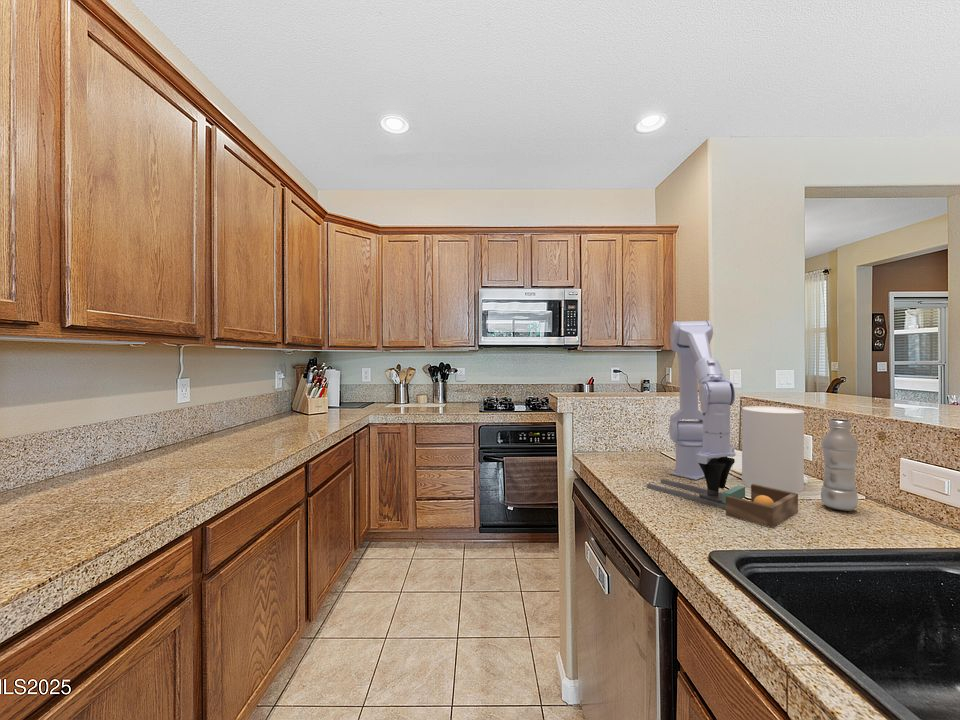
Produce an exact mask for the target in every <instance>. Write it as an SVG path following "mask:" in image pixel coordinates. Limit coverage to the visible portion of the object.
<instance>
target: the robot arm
mask: <svg viewBox="0 0 960 720" xmlns="http://www.w3.org/2000/svg"><path fill="white" fill-rule="evenodd" d="M713 328H714V327H713V324H712V322H711V321H710V320H709V319H708V320H695V321H694V320H692V321H691V320H690V321H678V320H675V321H673V322H672V323H671V326H670V335H669V336H670V339H669V340H670V347H671V351H673V352H675V353H677V359H678V360H677V361H678V381H679V384H678V385H679V409H678V410H676V411H675V412H674V413H672V415H670V417H669V427H668V433H669V438H670V441H672V443H675V470H672V471H669V472H668V473H669V474H670V475H673V476H676V477H677V476H678V477H682V478H687V479H691V480H695V481H697V480H700V479H702V478H704V479H705V482H706V488H707V487H708V489H709V490H712V491H718V490H719V489H722V490H724V489H725V487H726V484H727V480H728V476H729V473H730V471H731V469H732V467H733V465H734V464H735V461H736V460H735V458H733V457H735V456H736V455H737V453H736V452H735V446H731V406H733V404H734V403H735V399H736V398H735V397H736V391H735V386H734V383H733V382H732V380H729V378H726V377H725V374H724V372H723V370H722V367H721V365H720V362H719V360H717V359H716V358H713V354H712V350H711V346H710V344H711V341H712V339H713V335H714V329H713ZM698 385H699V387H698ZM698 388H699V389H698ZM699 404H700V410H699ZM719 491H720V490H719Z"/></svg>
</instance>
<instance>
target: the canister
mask: <svg viewBox="0 0 960 720" xmlns="http://www.w3.org/2000/svg"><path fill="white" fill-rule="evenodd" d="M741 423H742V424H741V482H742V483H743V484H744V485H745V486H747V487H749V488H751V485H752V484H755V485H760V486H764V487H769V488H774V489H778V490H783V491H787V492H792V493H796V492H799V493H802V492H803V491H804V490H805V467H804V466H805V465H804V464H805V411H804V410H803V409H798V408H792V407H785V406H783V407H782V406H768V405H765V406H764V405H763V406H762V405H760V406H759V405H758V406H757V405H751V406H743V407H741ZM801 491H802V492H801ZM796 494H797V493H796Z"/></svg>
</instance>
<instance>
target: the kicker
mask: <svg viewBox="0 0 960 720" xmlns="http://www.w3.org/2000/svg"><path fill="white" fill-rule="evenodd" d="M706 490H707V491H706V492H704V493H699V494H698V496H699V497H702V498H706V499H710V500H714V501H718V502H721V503H725V504H726V496H732V497H736V498H740V499H744V498H746V486H743V485H740V484H738V485H736V486H733V487H731V488H729V489H727V490H725V491H722V492H720V490H718V491H712V490H709V489H708V487H707V486H706Z"/></svg>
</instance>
